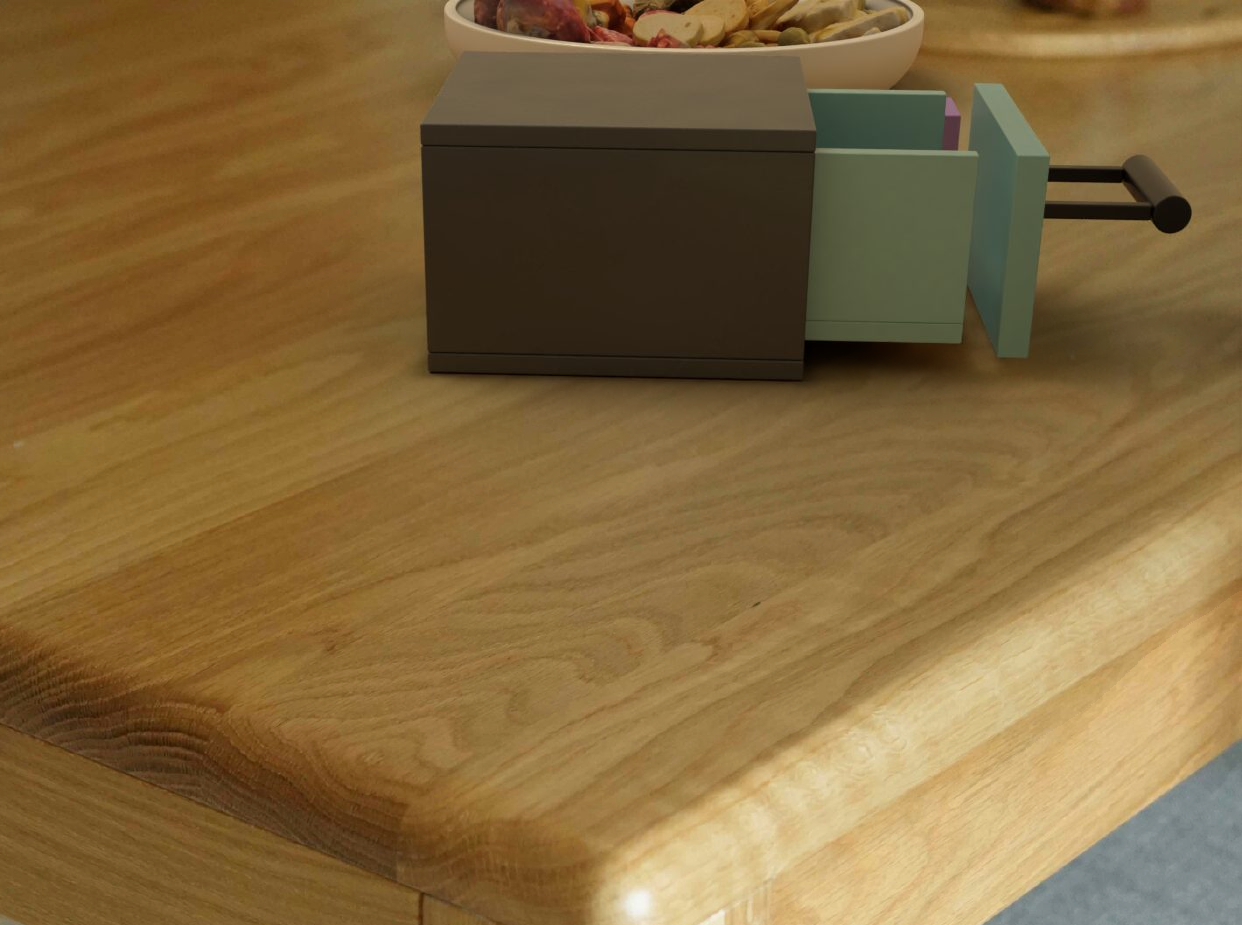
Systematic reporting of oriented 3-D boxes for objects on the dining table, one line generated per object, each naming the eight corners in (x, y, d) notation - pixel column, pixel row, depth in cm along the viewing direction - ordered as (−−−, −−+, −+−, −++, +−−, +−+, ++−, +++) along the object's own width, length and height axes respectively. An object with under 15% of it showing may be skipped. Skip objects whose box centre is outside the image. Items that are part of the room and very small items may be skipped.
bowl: (688, 28, 146) (691, -85, 143) (1016, 93, 126) (1029, -38, 123) (352, 80, 129) (346, -48, 125) (671, 165, 109) (675, 15, 105)
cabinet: (788, 273, 90) (800, 55, 86) (802, 380, 77) (817, 130, 73) (467, 267, 91) (462, 50, 87) (427, 372, 78) (419, 123, 74)
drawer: (1126, 264, 89) (1150, 85, 85) (1191, 362, 77) (1222, 158, 73) (681, 255, 90) (686, 78, 86) (678, 350, 78) (683, 149, 74)
